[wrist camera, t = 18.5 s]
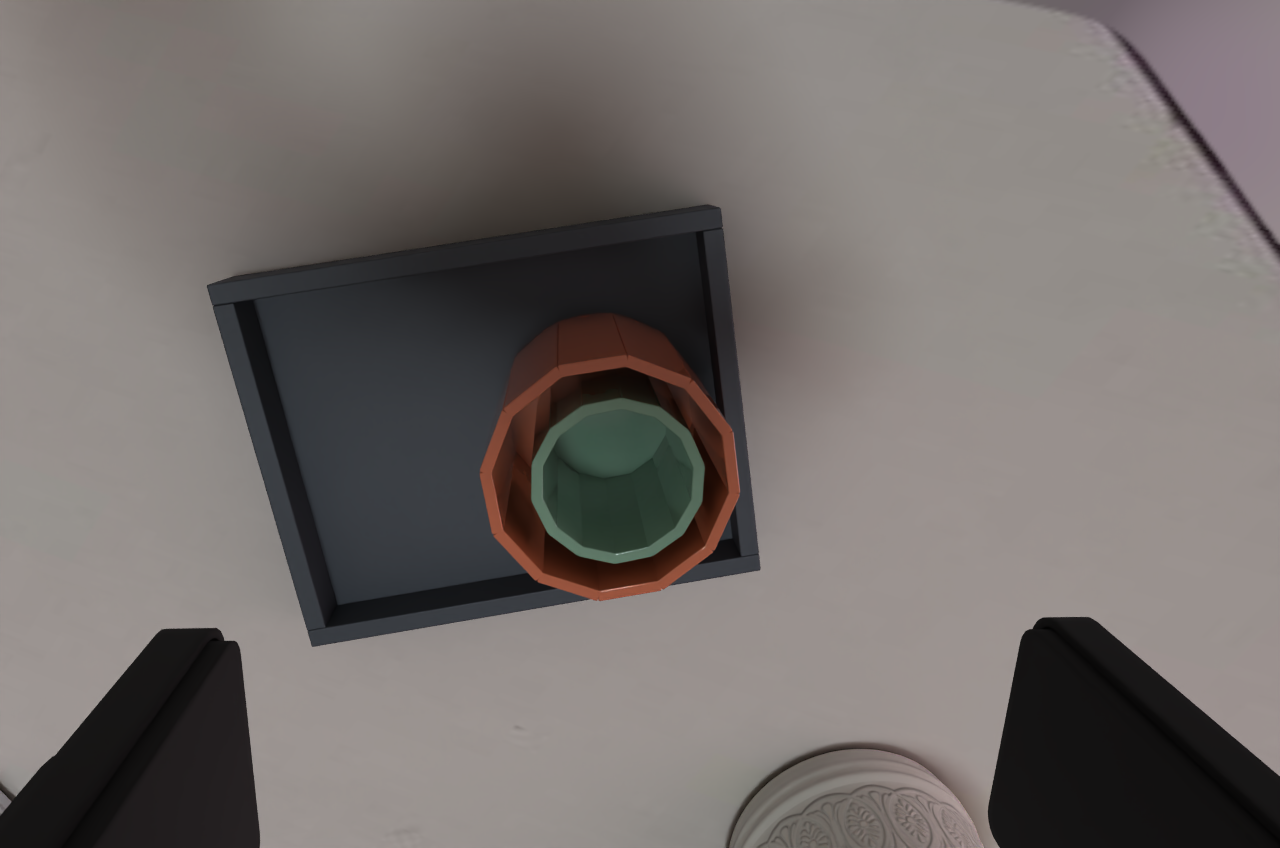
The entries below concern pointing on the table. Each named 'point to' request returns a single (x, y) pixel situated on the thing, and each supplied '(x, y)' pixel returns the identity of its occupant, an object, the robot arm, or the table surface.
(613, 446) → the sage cup
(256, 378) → the tray
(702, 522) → the terracotta cup
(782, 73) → the table surface
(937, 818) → the jar
